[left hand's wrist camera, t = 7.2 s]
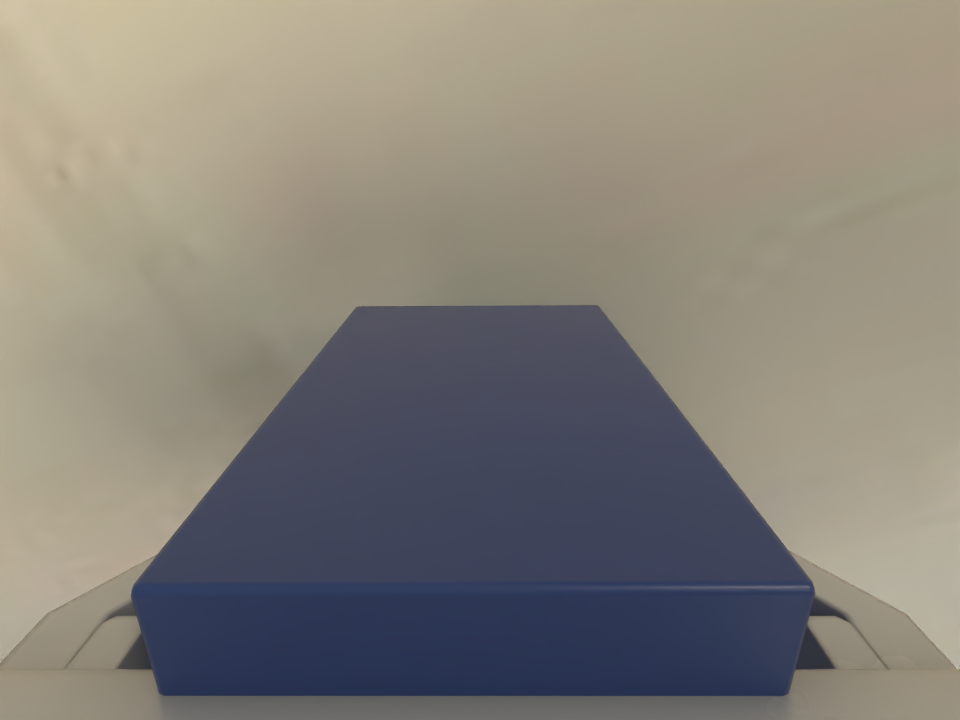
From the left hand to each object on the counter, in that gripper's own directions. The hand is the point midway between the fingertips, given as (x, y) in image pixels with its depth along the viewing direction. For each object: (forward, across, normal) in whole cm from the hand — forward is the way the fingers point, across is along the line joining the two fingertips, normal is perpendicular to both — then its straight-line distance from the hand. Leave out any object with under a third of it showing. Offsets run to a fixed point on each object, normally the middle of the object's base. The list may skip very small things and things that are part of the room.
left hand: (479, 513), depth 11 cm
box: (+4, 0, -8) cm, 9 cm away
